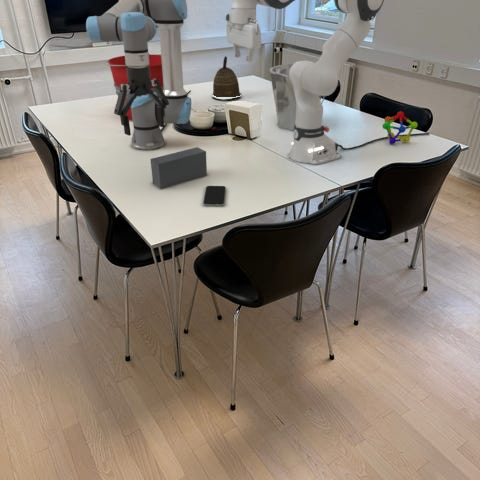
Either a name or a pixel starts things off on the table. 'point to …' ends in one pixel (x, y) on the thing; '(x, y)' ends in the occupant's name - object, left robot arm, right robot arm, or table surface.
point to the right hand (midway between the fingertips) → (243, 59)
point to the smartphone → (214, 196)
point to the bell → (225, 82)
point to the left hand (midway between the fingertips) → (144, 130)
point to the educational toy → (398, 128)
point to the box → (178, 167)
